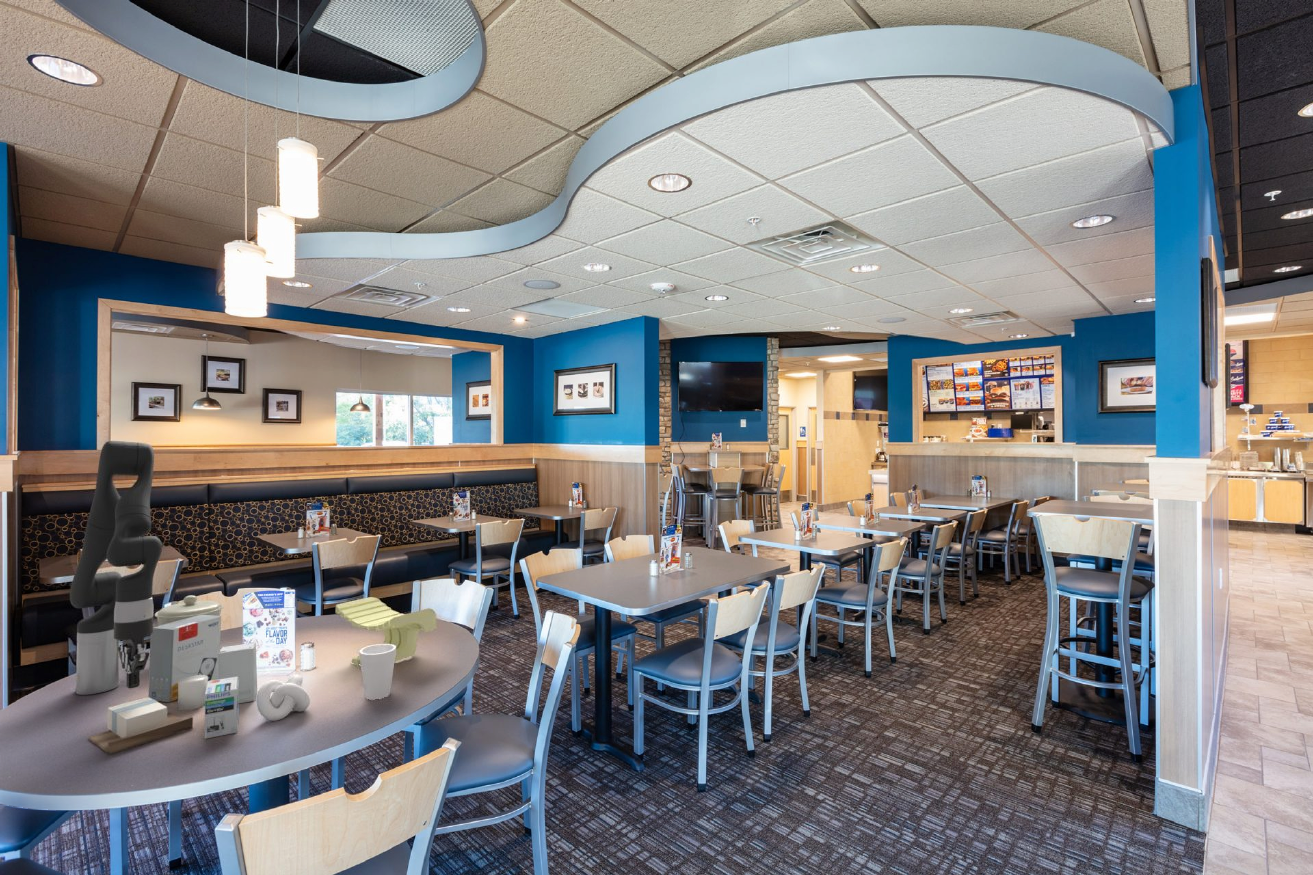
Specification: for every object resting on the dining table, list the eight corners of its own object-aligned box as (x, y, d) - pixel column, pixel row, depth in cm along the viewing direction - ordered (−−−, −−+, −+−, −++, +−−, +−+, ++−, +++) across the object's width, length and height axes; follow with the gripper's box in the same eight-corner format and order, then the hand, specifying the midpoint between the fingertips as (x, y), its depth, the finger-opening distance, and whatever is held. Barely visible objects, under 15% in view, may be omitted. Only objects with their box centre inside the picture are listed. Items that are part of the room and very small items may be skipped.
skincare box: (257, 694, 174) (258, 641, 175) (254, 702, 169) (254, 647, 169) (221, 699, 171) (222, 645, 171) (217, 707, 165) (217, 651, 166)
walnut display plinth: (88, 739, 147) (88, 728, 147) (169, 714, 161) (169, 704, 161) (109, 754, 140) (109, 743, 140) (192, 727, 153) (192, 717, 153)
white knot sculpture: (262, 708, 165) (262, 674, 165) (313, 701, 170) (313, 668, 170) (253, 725, 155) (254, 689, 155) (308, 717, 159) (308, 682, 159)
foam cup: (403, 692, 176) (403, 646, 176) (376, 704, 167) (376, 656, 168) (379, 686, 180) (379, 642, 180) (351, 698, 171) (352, 651, 172)
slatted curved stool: (436, 660, 202) (436, 606, 203) (393, 675, 189) (393, 617, 189) (378, 645, 218) (378, 594, 218) (335, 658, 204) (335, 604, 204)
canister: (148, 660, 202) (149, 596, 202) (214, 647, 216) (215, 586, 216) (161, 673, 190) (162, 605, 190) (230, 658, 204) (230, 594, 204)
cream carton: (107, 707, 152) (126, 719, 145) (148, 696, 158) (167, 707, 152) (107, 728, 152) (125, 741, 145) (147, 716, 158) (167, 727, 152)
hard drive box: (169, 703, 168) (171, 629, 168) (147, 701, 170) (148, 628, 170) (220, 682, 183) (221, 614, 184) (199, 680, 185) (200, 613, 185)
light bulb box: (237, 732, 151) (238, 688, 151) (203, 740, 147) (204, 694, 147) (238, 716, 160) (239, 675, 160) (206, 723, 156) (207, 680, 156)
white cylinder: (173, 706, 166) (174, 680, 166) (201, 698, 171) (201, 673, 171) (183, 712, 163) (184, 685, 163) (211, 703, 168) (212, 677, 168)
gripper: (163, 617, 154) (161, 687, 153) (142, 610, 161) (141, 677, 160) (124, 624, 147) (123, 697, 147) (105, 616, 154) (103, 686, 154)
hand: (132, 686), depth 154 cm, fingers closed
